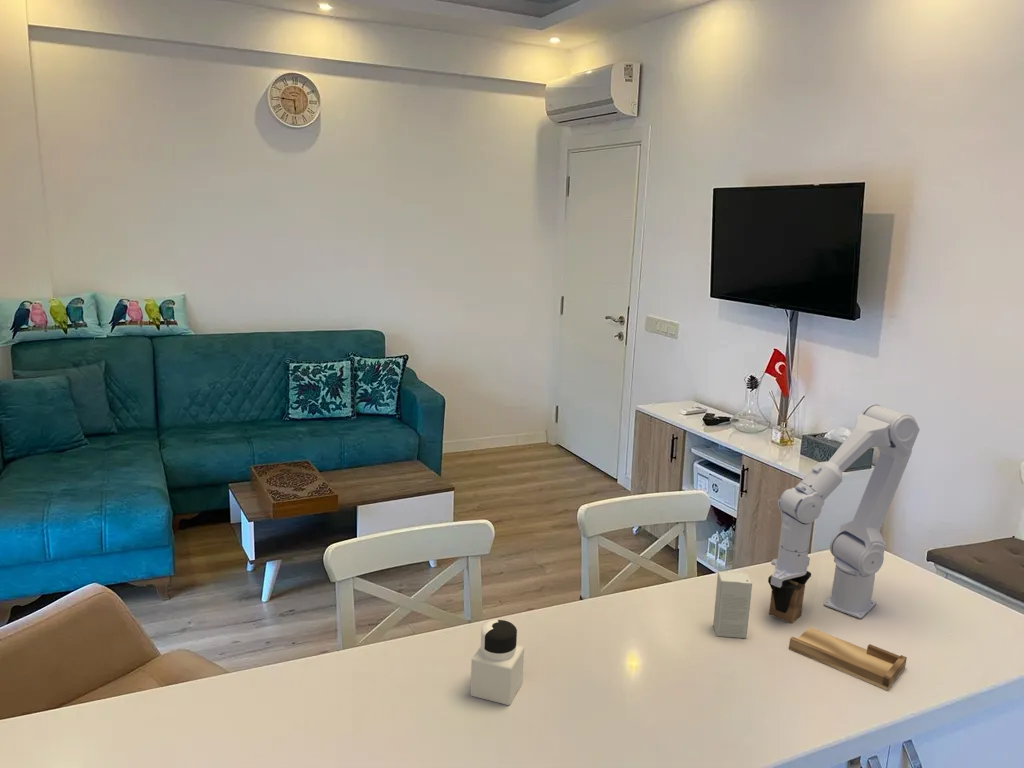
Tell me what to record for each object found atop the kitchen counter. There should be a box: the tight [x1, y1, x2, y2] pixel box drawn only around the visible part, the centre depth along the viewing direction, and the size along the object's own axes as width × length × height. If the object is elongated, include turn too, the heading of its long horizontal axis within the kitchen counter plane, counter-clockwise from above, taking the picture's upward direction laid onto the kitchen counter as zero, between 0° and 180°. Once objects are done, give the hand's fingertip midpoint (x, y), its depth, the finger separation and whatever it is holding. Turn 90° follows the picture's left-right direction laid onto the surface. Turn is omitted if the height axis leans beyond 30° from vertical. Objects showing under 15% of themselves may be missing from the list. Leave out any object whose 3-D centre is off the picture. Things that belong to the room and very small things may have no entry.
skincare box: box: [712, 571, 753, 639], centre depth 148 cm, size 6×4×12 cm
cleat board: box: [788, 626, 908, 691], centre depth 141 cm, size 10×18×2 cm, turn 47°
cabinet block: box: [768, 580, 806, 624], centre depth 156 cm, size 4×5×8 cm
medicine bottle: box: [470, 619, 525, 706], centre depth 127 cm, size 7×7×12 cm
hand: (786, 606), depth 156 cm, fingers closed on cabinet block, 4 cm apart
